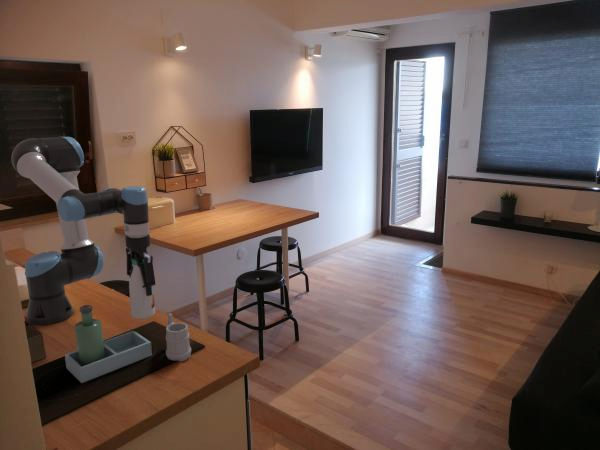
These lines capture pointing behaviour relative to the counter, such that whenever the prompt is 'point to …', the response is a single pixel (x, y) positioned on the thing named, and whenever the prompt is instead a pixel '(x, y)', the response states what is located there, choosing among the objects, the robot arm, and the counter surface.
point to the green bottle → (89, 337)
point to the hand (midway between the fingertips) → (142, 300)
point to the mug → (177, 340)
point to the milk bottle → (139, 295)
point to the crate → (111, 356)
